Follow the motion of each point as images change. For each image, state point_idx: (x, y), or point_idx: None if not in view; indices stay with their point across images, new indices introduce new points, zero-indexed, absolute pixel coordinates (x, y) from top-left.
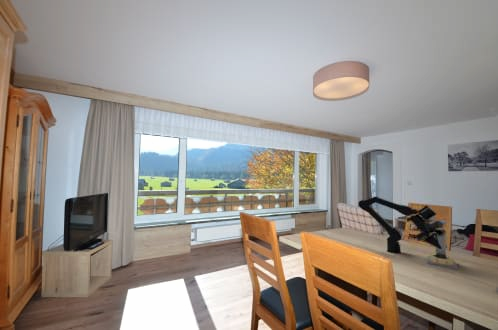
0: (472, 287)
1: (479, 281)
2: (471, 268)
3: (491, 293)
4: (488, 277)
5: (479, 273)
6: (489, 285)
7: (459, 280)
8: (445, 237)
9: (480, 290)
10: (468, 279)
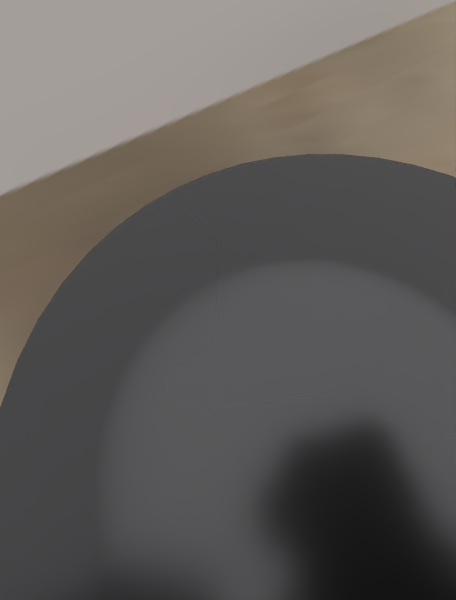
0: (444, 78)
1: (301, 122)
2: (30, 318)
3: (398, 31)
4: (141, 157)
5: (114, 218)
6: (298, 82)
7: (443, 147)
8: (208, 204)
9: (429, 54)
10: (353, 151)
